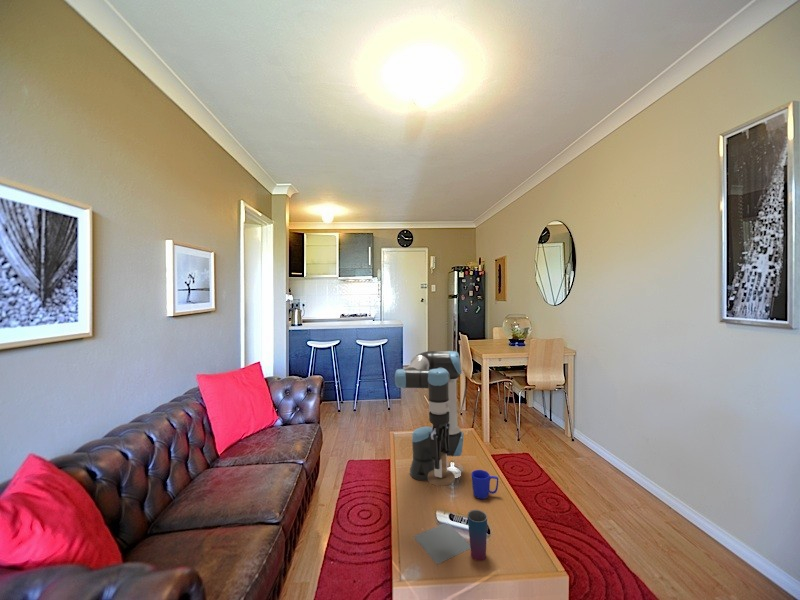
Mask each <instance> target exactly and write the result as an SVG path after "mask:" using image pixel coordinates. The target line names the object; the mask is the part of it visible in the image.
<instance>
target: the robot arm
mask: <svg viewBox="0 0 800 600" xmlns="http://www.w3.org/2000/svg"><path fill="white" fill-rule="evenodd" d="M460 358H461V357H460V354H459V352H458V351H456V350H453V351H452V350H433V351H432V350H428V351H424V352H421V353H419V354H416V355H415V356H414V357H413V358H411V360H410V364H409V365H408V366H407V367H406V368H398V369H396V370H395V374H394V384H395V387H396V388H400V389H428V390H427V391H428V411H429V412H428V419H429V423H431V425H432V426H421V427H417V428H416V429H414V431H412V438H411V443H412V461H411V465H410V468H409V475H410V476H411V478H413V479H414V480H416V481H422V482H425V481H426V482H427V481H428V473H429V472H430V471H432V470H434V474H435V476H436V477H440V478H442V459H440V455H441V452H444V453H445V454H446V472H447V470H448V457H460V456H461V455H462V453H463V446H464V437H465V436H464V434H465V433H464V432H462V431H461V430H462V429H461V427H459V426H458V425H459V424H458V400H457V396H458V395H457V393H458V392H457V380H459V377H460V375H462V364H461V363H462V362H461V359H460ZM428 482H429V481H428Z"/></svg>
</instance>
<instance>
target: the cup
mask: <svg viewBox="0 0 800 600" xmlns="http://www.w3.org/2000/svg"><path fill="white" fill-rule="evenodd" d="M467 525H468V534H469V543H470V555H471V557H472V559H474V560H475V561H477V562H482V561H484V560H485V559H486V558H487V532H488V531H487V530H488V515H487V513H486V512H484V511H483V510H480V509H471V510H469V511H468V513H467Z"/></svg>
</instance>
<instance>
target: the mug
mask: <svg viewBox="0 0 800 600" xmlns="http://www.w3.org/2000/svg"><path fill="white" fill-rule="evenodd" d="M491 479H493V480H495V479H496V487H495V489H494V490H493V491H491V490H490V485H491ZM471 483H472V493H473V495H474V496H475V498H478V499H479V500H480V499H481V500H484V499H487V498H488V497H489V494H492V495H493V494H496V493H497V491H498V489H499V488H498V487H499V477H498V476H496V475H495V476H494V475H490V473H489V472H488V471H486V470H483V469H475V470H473V471H472V472H471Z"/></svg>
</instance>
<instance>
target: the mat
mask: <svg viewBox="0 0 800 600" xmlns="http://www.w3.org/2000/svg"><path fill="white" fill-rule="evenodd" d="M412 537H413V538H414V540H415V541H416V542H417V543H418V544H419V545H420V547H421V548H422V549H423V550H424V551H425V553H426V554H427V555H428V556H429V557H430V559H432V561H433V562H434V563H435V564H436V565H439V564H442V563H443V562H445V561H448V560H449V559H452V558H454V557H455V556H458V555H460V554H462V553H464V552H466V551H468V550H471V548H470V542H469V541H467V539H466V538H464V536H462V535H461V534H460V533H459V532H458V531H457V530H456V529H455V528H454V527H453V526H452V525H451V524H449V525H446V524H444V523H442V524H440V525H437V526H435V527H432V528H429V529H427V530H425V531H423V532H421V533H418V534H416V535H413V536H412Z"/></svg>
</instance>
